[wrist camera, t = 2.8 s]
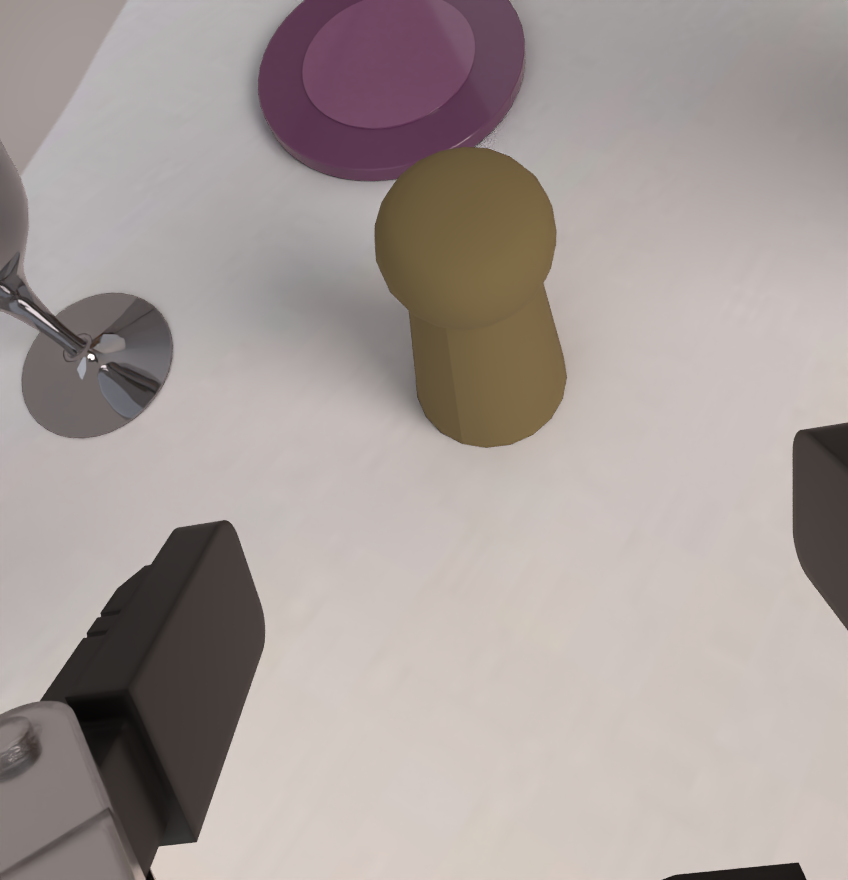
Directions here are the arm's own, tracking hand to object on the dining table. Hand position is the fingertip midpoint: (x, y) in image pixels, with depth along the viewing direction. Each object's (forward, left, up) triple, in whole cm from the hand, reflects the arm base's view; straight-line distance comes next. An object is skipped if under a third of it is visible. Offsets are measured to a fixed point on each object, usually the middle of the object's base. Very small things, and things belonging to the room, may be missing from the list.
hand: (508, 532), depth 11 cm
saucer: (-6, -27, -17) cm, 33 cm away
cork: (-3, -10, -17) cm, 20 cm away
